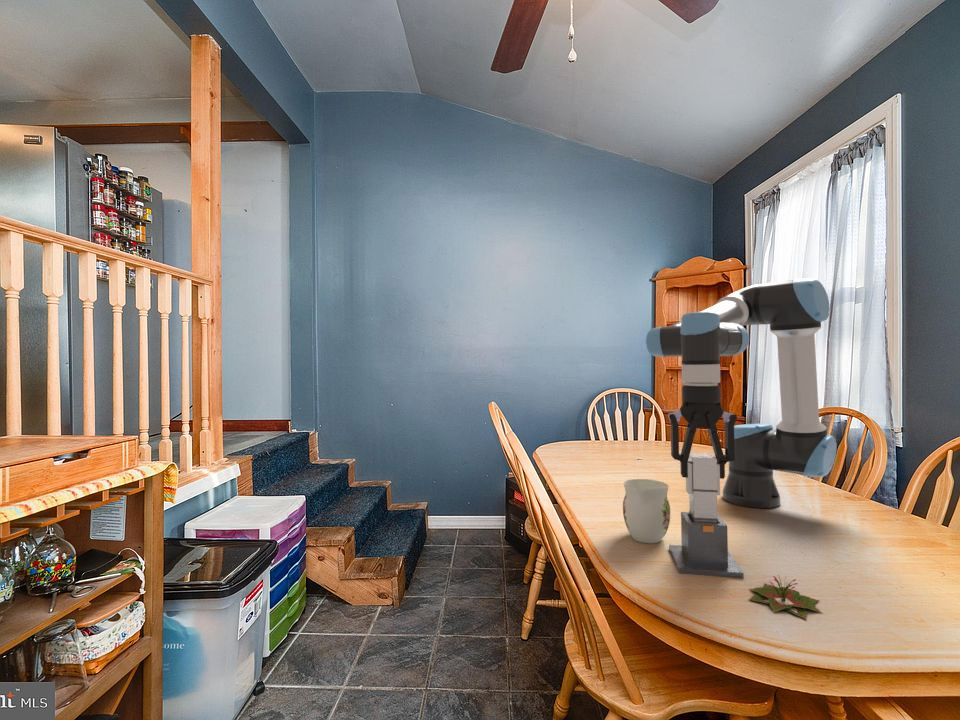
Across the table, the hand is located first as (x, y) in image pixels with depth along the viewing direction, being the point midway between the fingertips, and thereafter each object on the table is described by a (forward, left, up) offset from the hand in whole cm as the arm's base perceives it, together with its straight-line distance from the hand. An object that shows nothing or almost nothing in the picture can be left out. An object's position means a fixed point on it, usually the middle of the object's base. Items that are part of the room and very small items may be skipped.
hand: (702, 492), depth 100 cm
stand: (0, 0, -15) cm, 15 cm away
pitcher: (+10, -13, -15) cm, 22 cm away
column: (0, 0, -10) cm, 10 cm away
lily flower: (-10, +14, -16) cm, 23 cm away
